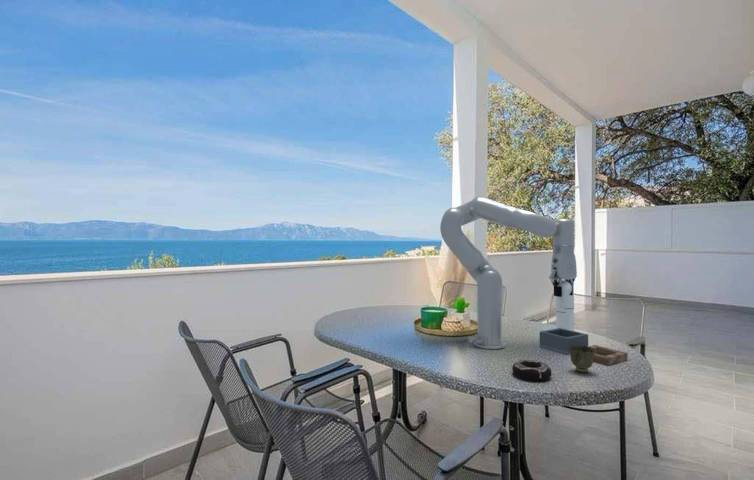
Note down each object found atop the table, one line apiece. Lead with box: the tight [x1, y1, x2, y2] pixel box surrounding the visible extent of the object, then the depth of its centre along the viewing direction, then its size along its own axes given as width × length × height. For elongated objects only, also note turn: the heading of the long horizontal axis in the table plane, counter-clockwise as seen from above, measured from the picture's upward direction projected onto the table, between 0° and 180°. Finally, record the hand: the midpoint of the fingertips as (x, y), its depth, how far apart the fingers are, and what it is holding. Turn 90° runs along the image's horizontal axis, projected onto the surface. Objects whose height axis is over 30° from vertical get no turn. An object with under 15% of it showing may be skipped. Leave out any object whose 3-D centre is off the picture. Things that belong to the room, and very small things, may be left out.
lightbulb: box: [559, 280, 572, 308], centre depth 155 cm, size 6×6×11 cm
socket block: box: [588, 344, 629, 367], centre depth 142 cm, size 12×12×2 cm
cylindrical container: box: [555, 279, 575, 331], centre depth 174 cm, size 7×7×25 cm
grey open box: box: [539, 327, 589, 356], centre depth 155 cm, size 12×12×6 cm
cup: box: [569, 345, 595, 374], centre depth 128 cm, size 8×7×8 cm
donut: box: [511, 359, 552, 382], centre depth 125 cm, size 12×12×4 cm
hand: (563, 295), depth 155 cm, fingers closed on lightbulb, 6 cm apart
